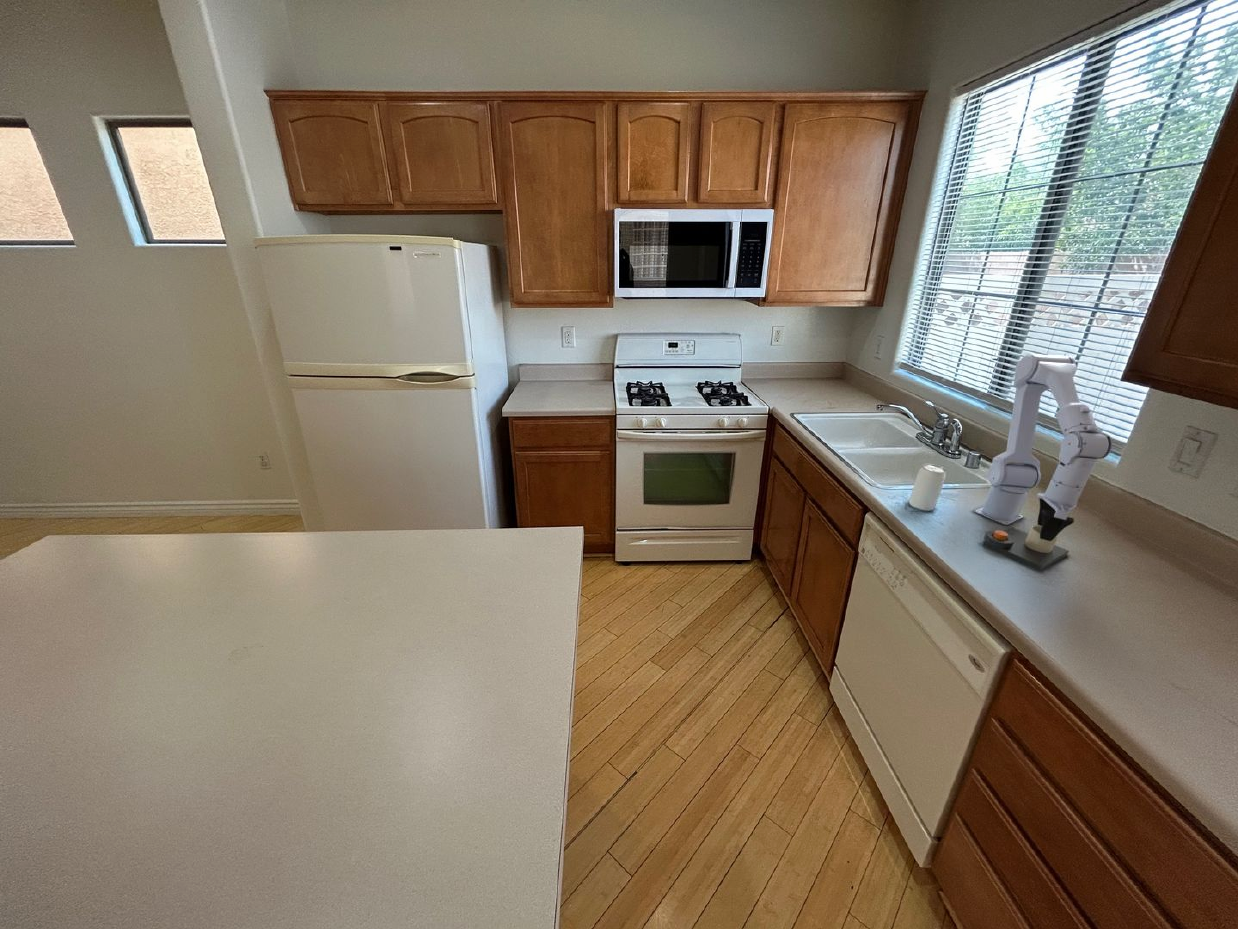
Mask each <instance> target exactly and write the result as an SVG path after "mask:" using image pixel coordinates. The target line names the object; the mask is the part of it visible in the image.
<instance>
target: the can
mask: <svg viewBox="0 0 1238 929" xmlns="http://www.w3.org/2000/svg"><path fill="white" fill-rule="evenodd" d="M946 472H947V470H946V469H945V468H944V467H943V466H940V465H937V464H932V463H924V464H922V466H921V467H920V468H919V470H918V473H917V475H916V478H915V482H914V484H913V488H912V490H911V494H910V497H909V500H908V503H909V505H910V506H911V507H912V508H914V509H916V510H920V511H925V512H931V511H933V510H935V509H936V506H937V503H938V500H939V497H940V496H941V491H942V489H943V487H944V483H945V480H946V477H947V475H946V474H947V473H946Z"/></svg>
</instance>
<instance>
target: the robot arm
mask: <svg viewBox="0 0 1238 929" xmlns="http://www.w3.org/2000/svg"><path fill="white" fill-rule="evenodd" d="M1076 364H1077V363H1076V360H1075V358H1074V357H1073V356H1071V355H1051V354H1050V355H1049V354H1036V353H1027V354H1025V355H1024V356H1023V357H1022V358H1021V359H1020V360H1019V361H1018V362H1017V363H1016V366H1015V372H1014V373H1015V374H1014V378H1013V387H1014V388H1015V392H1014V393H1015V394H1014V399H1013V406H1012V413H1011V417H1010V424H1009V431H1008V438H1007V443H1006V449H1005V451H1003V452H1002V453H1000V454H998V455H995V456H994V457H992V461H991V464H990V466H989V468H988V472H987V479H988V482H989V483H990V484H991V486H990V488H989V490H988V493H987V496H986V498H985V501H984V504H983V506H982V507H980V508H977V509H975V510H974V513H976V514H978V515H980V516H983V517H985V518H988V519H990V520H992V521H995V522H997V523H1000V524H1001V525H1004V526H1007V525H1010V524H1012V523H1014V522H1016V521H1019V520H1021V519H1022V518H1024V516H1023V514H1021V511H1022V510H1023V507H1024V506H1025V502H1026V499H1027V497H1028V493H1029V492H1030V490H1032V489H1036V487H1038V485H1039V484H1040V482H1041V479H1042V474H1041V468H1040V467H1041V462H1040V460H1039V459H1038V458H1037V457H1036V456H1034V455H1033V454H1032V452H1033V445H1034V441H1035V440H1034V439H1035V434H1036V428H1037V421H1038V416H1039V411H1040V404H1041V397H1042V394H1044V393H1045V392H1046V391H1047V390H1050V392H1051V395H1052V396H1053V398H1054V400H1055V401H1056V403H1057V406H1058V408H1059V410H1058V411H1057V412H1056V413H1055V418H1056V420H1057V423H1058V425H1059V428H1060V430H1061V434H1062V436H1063V438H1061V440H1060V444H1059V449H1060V450H1059V455H1058V461H1059V462H1058V464H1057V466H1056V468H1055V470H1054V473H1053V475H1052V477H1051V479H1050V481H1049V483H1048V486H1047V488H1046V490H1045V492H1044V493H1043V492H1037V494H1036V497H1037V498H1038V500H1039V511H1038V516H1037V525H1038V526H1042V528H1041V532H1040V539H1044V540H1047V541H1052V540H1053V539H1054V538H1055V537H1056V536H1057V535H1058V534H1059V535H1060V533H1061V532H1062V531H1063V530H1065V528H1067V527H1069V526H1070V525H1071V526H1072V525H1073V523H1074V522H1075V518H1074V517H1070V516H1069V514H1070V512H1071V511H1073V510H1074V509H1075V508H1076V507H1077V505H1078V500H1079V499H1080V496H1081V495H1082V492H1083V491H1084V489H1085V486H1086V484H1087V482H1088V480H1089V478H1090V476H1091V474H1092V472H1093V471H1094V468H1095V467H1096V464H1097V462H1098V460H1102V459H1103V460H1104V459H1105V458H1106V457H1108V456H1109V455H1110V453H1111V451H1112V449H1113V440H1112V437H1111V435H1110V434H1108V433H1107V432H1104V431H1103V430H1102V429H1099V427H1098V426H1097V423H1096V421H1095V419H1094V417H1093V414H1092V411H1091V409H1090V407H1089V406H1088V405H1086V404H1083V403H1080V399H1079V396H1078V392H1077V391H1078V390H1077V388H1076V384H1075V380H1074V377H1075V375H1076V372H1077V369H1078V366H1077V365H1076ZM1015 463H1016V464H1015ZM1018 463H1019V464H1018Z"/></svg>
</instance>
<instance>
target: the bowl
mask: <svg viewBox="0 0 1238 929" xmlns="http://www.w3.org/2000/svg"><path fill="white" fill-rule="evenodd" d="M1041 528H1042V526H1040V525H1038V524H1037V525H1031V527H1030V528H1029V531H1028V532H1027V533H1028V535H1027V537H1026V539H1025V542H1024V544H1025V545H1026V546H1027V547H1029V548H1031V549H1033V550H1035V551H1038V552H1043V553H1050V552H1051V551H1052V549H1053V547H1054V545H1056V543H1057V541H1058V539H1059V537H1060V533H1059V534H1058V535H1057V536H1056V537H1055V538H1054V539H1053V540H1052V541H1047V540H1044V539H1040V532H1041Z"/></svg>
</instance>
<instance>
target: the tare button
mask: <svg viewBox="0 0 1238 929" xmlns="http://www.w3.org/2000/svg"><path fill="white" fill-rule="evenodd" d="M994 531H995V532H994V535H993V537H994V538H996V539H999V540H1003V541H1006V539H1007V537H1008V534H1007V533H1006V532H1004V531H1005V530H1000V529H996V530H994Z"/></svg>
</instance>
